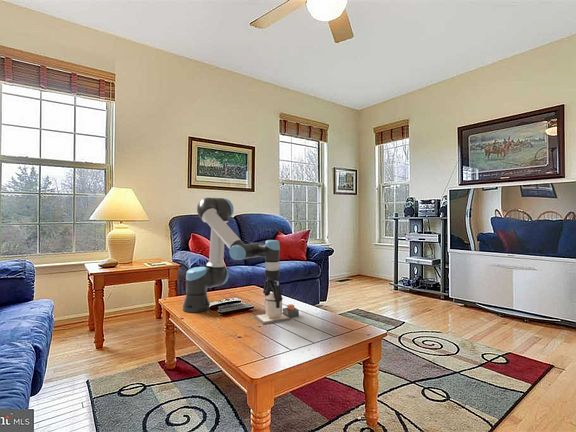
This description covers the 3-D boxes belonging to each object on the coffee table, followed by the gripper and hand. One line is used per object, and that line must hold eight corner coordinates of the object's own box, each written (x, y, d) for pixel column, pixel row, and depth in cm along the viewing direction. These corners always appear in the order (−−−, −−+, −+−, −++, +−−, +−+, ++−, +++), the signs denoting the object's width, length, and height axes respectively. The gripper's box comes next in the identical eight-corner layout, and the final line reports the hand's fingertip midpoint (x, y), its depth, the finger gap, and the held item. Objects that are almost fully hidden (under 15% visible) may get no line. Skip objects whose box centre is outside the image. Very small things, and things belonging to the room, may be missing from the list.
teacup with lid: (286, 314, 168) (286, 292, 168) (272, 318, 162) (272, 295, 162) (271, 309, 177) (271, 288, 177) (258, 312, 171) (258, 291, 171)
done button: (286, 310, 175) (286, 304, 175) (292, 309, 177) (292, 304, 177) (289, 312, 172) (289, 306, 172) (295, 311, 174) (295, 305, 174)
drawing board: (254, 316, 172) (254, 315, 172) (280, 312, 179) (280, 311, 179) (263, 324, 160) (263, 322, 160) (290, 319, 167) (290, 318, 167)
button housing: (282, 314, 176) (282, 308, 176) (293, 313, 179) (293, 306, 179) (288, 318, 170) (288, 311, 170) (298, 316, 173) (298, 309, 173)
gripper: (289, 272, 160) (288, 316, 161) (269, 265, 182) (269, 303, 182) (275, 274, 157) (275, 318, 157) (257, 266, 178) (257, 305, 179)
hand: (272, 310), depth 170 cm, fingers closed on teacup with lid, 12 cm apart
